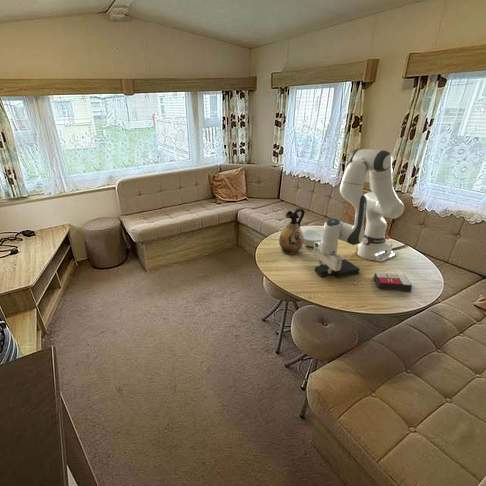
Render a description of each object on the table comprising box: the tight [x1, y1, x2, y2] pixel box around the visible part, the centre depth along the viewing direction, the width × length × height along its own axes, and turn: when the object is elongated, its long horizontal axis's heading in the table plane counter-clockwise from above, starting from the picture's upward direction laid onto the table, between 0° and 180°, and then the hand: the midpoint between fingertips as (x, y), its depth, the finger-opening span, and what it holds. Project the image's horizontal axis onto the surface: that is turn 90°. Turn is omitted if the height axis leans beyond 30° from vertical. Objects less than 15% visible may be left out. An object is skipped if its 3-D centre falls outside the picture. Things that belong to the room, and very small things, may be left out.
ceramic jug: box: [278, 207, 305, 255], centre depth 190 cm, size 17×15×30 cm
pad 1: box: [314, 264, 335, 277], centre depth 170 cm, size 13×6×3 cm, turn 108°
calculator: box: [373, 272, 413, 292], centre depth 159 cm, size 11×4×15 cm
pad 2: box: [324, 258, 360, 279], centre depth 173 cm, size 14×12×3 cm
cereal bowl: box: [301, 229, 323, 248], centre depth 203 cm, size 17×17×7 cm
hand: (324, 269), depth 169 cm, fingers closed on pad 1, 6 cm apart
